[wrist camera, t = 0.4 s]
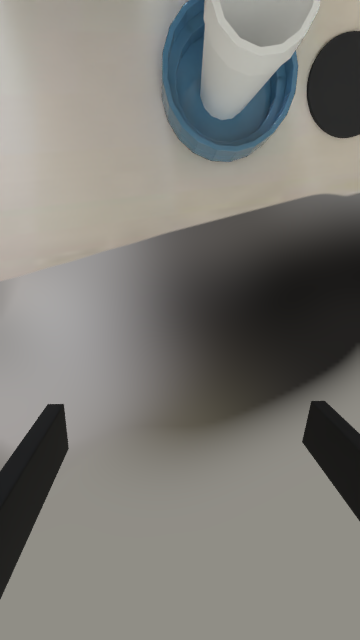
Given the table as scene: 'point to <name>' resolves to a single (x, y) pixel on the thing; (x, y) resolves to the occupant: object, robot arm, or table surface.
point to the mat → (337, 86)
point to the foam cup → (248, 48)
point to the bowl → (186, 105)
